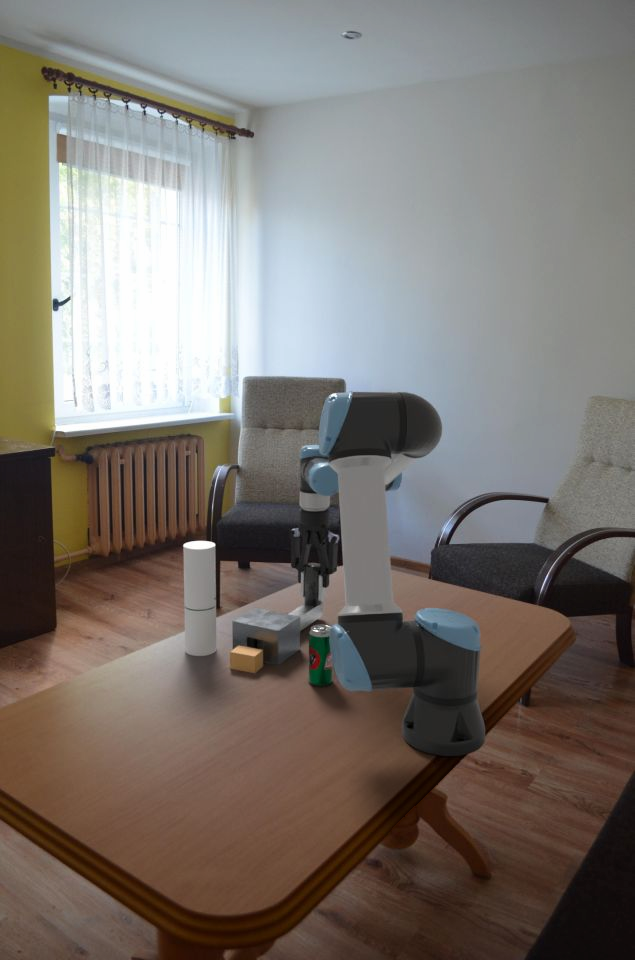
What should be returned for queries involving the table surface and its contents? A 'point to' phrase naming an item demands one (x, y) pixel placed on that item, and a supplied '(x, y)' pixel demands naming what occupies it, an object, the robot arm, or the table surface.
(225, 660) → the table surface
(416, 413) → the robot arm
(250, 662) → the block
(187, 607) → the cylindrical container
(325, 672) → the soda can
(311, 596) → the shaft
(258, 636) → the block
